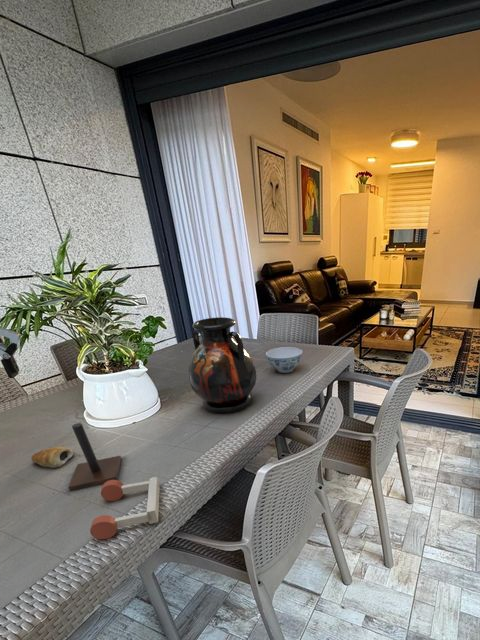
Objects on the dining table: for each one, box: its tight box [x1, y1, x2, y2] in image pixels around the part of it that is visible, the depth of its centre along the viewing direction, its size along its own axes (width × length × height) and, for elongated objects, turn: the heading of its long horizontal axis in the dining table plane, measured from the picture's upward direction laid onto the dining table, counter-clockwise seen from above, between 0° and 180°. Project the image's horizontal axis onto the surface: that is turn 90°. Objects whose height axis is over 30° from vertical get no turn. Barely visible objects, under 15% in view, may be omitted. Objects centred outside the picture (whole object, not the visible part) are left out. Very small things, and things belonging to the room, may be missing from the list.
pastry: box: [31, 446, 74, 469], centre depth 93 cm, size 9×7×4 cm
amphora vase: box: [188, 316, 258, 414], centre depth 114 cm, size 22×22×28 cm
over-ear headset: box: [89, 476, 161, 540], centre depth 75 cm, size 4×14×12 cm
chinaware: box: [265, 346, 303, 374], centre depth 147 cm, size 15×15×8 cm
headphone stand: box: [68, 422, 123, 492], centre depth 84 cm, size 10×10×14 cm
